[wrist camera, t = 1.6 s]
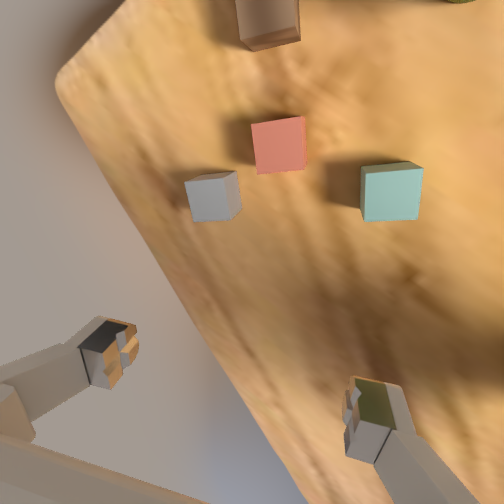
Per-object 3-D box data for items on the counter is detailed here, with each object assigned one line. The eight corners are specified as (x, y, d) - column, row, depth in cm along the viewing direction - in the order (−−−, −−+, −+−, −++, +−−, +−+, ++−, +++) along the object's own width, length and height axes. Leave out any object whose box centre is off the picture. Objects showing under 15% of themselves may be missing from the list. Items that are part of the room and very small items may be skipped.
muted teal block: (409, 161, 30) (423, 168, 25) (405, 205, 32) (417, 219, 27) (360, 166, 31) (365, 173, 27) (359, 208, 33) (364, 221, 29)
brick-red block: (304, 116, 30) (300, 116, 26) (307, 163, 32) (303, 169, 28) (261, 123, 32) (250, 124, 27) (266, 167, 34) (257, 174, 29)
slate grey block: (236, 170, 35) (223, 178, 31) (242, 208, 37) (230, 220, 33) (201, 174, 36) (184, 182, 32) (209, 210, 38) (193, 222, 34)
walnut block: (297, -24, 25) (290, -54, 21) (300, 40, 27) (295, 25, 23) (246, -9, 27) (230, -33, 23) (253, 52, 29) (240, 40, 25)
